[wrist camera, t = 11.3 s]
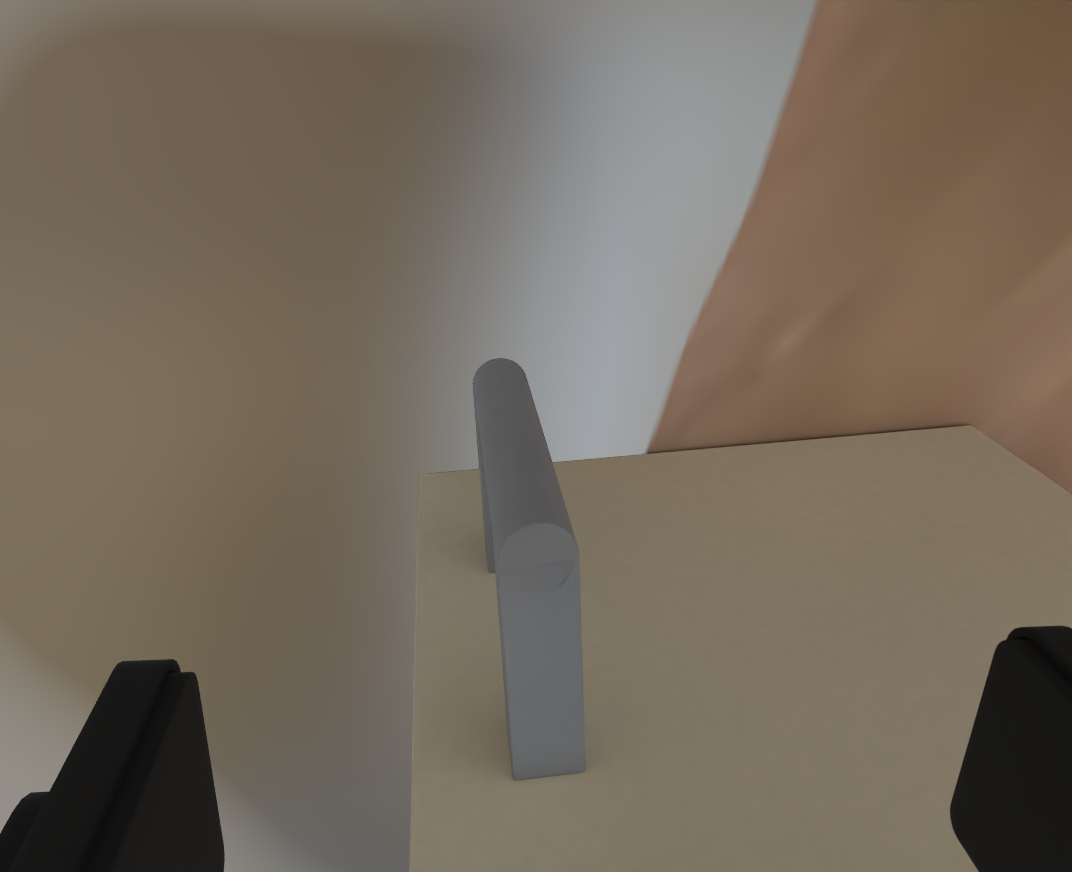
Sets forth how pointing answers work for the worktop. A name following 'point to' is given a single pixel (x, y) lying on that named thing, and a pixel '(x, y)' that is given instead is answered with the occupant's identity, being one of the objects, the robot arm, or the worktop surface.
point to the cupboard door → (714, 646)
